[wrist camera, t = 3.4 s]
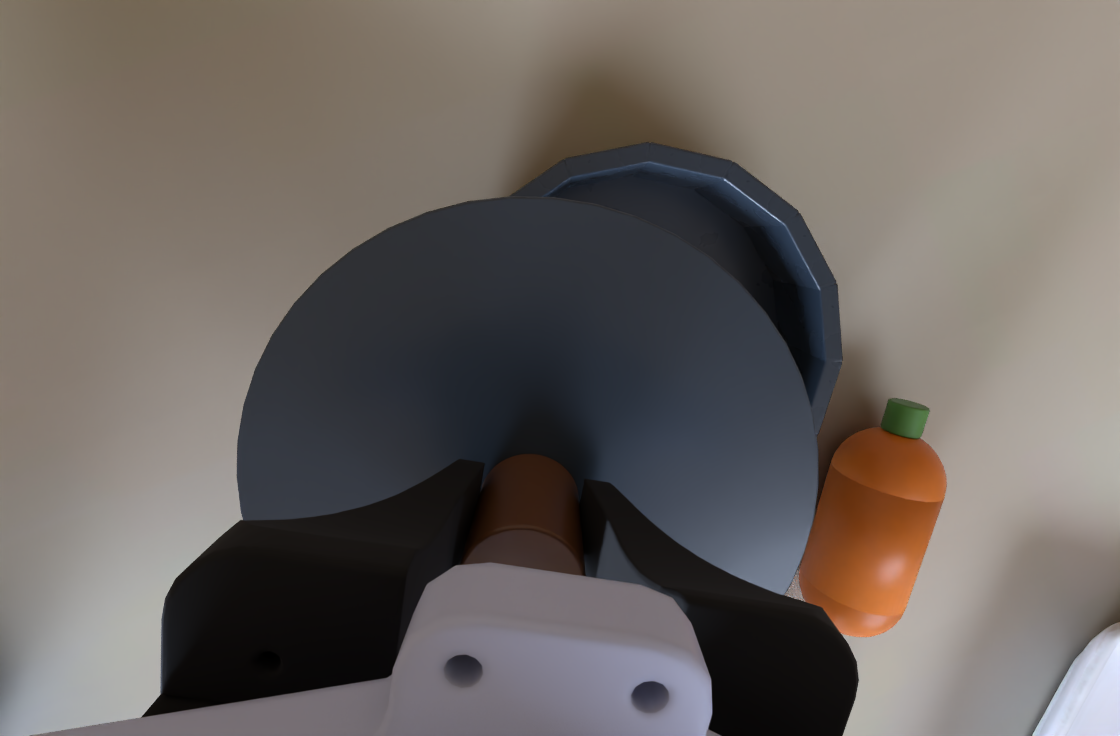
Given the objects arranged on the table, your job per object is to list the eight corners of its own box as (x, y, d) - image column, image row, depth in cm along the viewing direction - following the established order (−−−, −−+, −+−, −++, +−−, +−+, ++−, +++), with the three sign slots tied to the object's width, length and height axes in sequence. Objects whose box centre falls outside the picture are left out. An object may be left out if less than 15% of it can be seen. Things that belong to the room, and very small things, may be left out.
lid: (819, 663, 16) (919, 825, 12) (340, 738, 17) (262, 922, 12) (776, 147, 13) (891, 102, 9) (183, 257, 13) (-1, 269, 9)
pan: (799, 456, 24) (853, 506, 20) (498, 509, 25) (486, 569, 20) (769, 133, 21) (825, 107, 17) (426, 200, 22) (393, 191, 17)
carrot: (858, 601, 26) (912, 666, 22) (774, 589, 26) (813, 653, 22) (925, 396, 24) (998, 428, 20) (833, 381, 23) (889, 411, 20)
